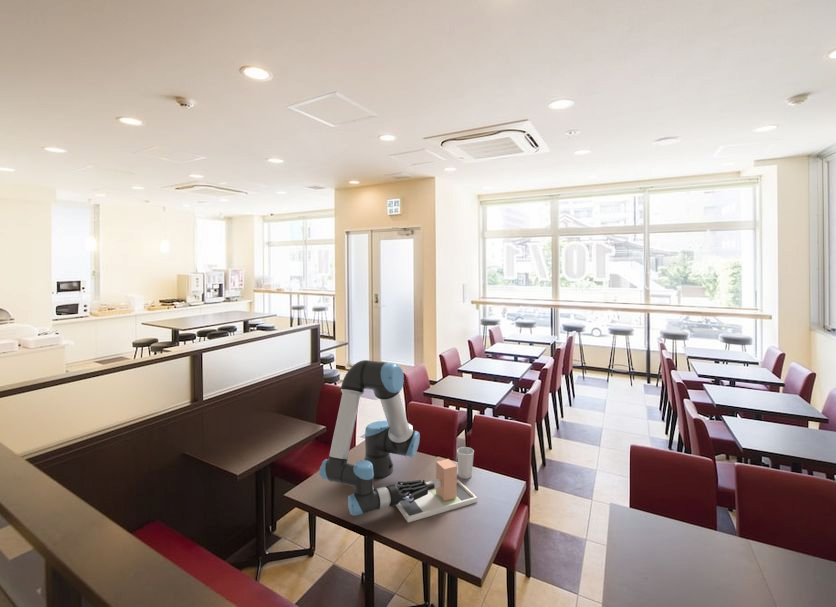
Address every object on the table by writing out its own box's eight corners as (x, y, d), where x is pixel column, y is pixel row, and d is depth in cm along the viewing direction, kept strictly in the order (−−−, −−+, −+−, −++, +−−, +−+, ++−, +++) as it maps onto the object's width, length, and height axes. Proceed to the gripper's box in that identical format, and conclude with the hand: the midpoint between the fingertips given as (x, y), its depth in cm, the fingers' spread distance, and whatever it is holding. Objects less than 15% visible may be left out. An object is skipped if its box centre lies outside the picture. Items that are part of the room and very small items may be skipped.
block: (436, 492, 175) (436, 461, 173) (448, 489, 177) (448, 458, 176) (443, 501, 168) (444, 469, 167) (456, 497, 171) (456, 466, 170)
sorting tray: (392, 501, 171) (392, 496, 171) (458, 483, 185) (458, 479, 184) (408, 522, 157) (408, 517, 157) (477, 501, 171) (477, 497, 170)
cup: (460, 469, 198) (460, 445, 196) (475, 473, 194) (476, 449, 193) (454, 477, 191) (454, 452, 189) (470, 481, 187) (470, 456, 186)
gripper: (381, 496, 167) (432, 483, 177) (393, 514, 155) (447, 499, 165) (381, 479, 166) (432, 467, 176) (393, 495, 154) (447, 481, 164)
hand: (439, 482), depth 171 cm, fingers closed
